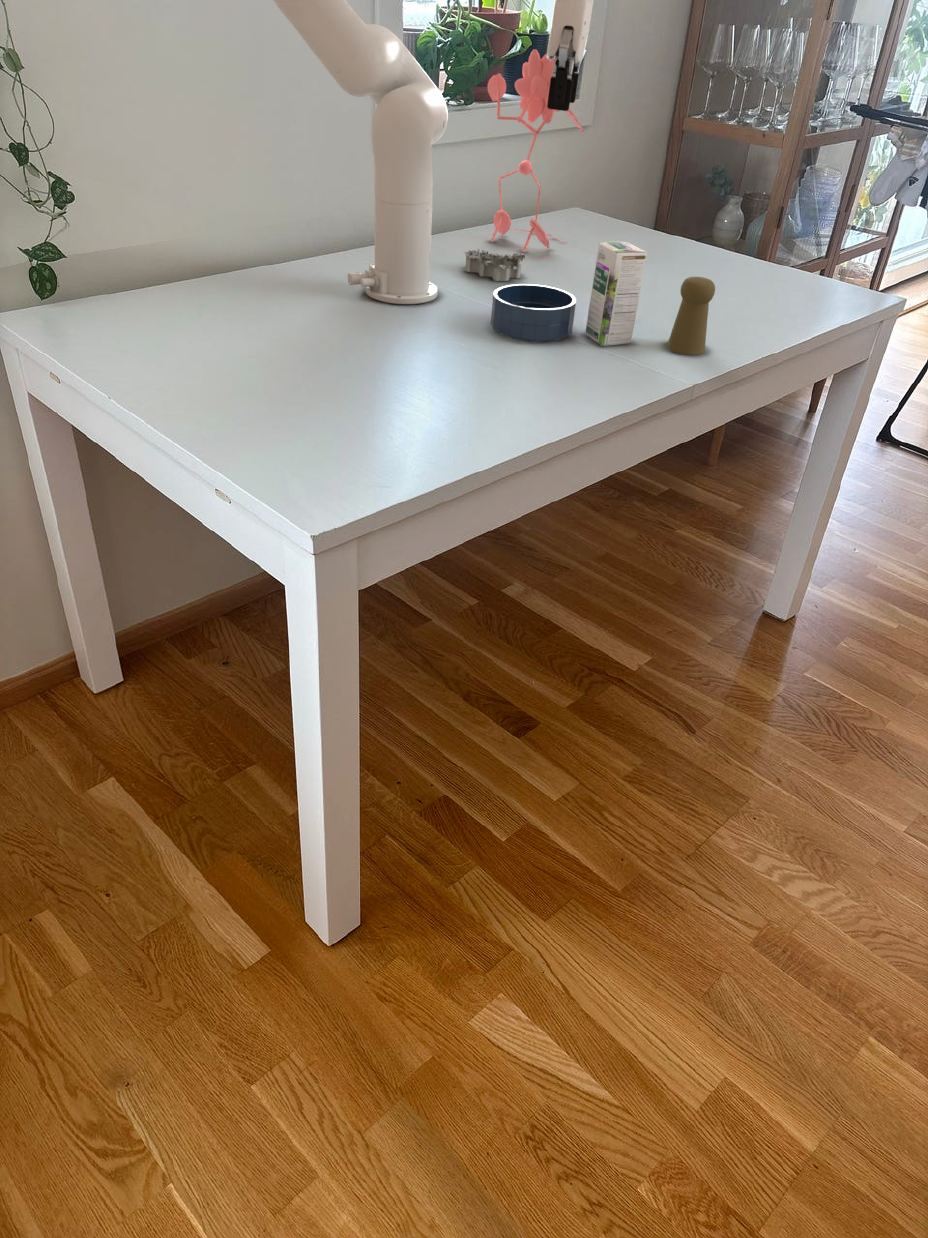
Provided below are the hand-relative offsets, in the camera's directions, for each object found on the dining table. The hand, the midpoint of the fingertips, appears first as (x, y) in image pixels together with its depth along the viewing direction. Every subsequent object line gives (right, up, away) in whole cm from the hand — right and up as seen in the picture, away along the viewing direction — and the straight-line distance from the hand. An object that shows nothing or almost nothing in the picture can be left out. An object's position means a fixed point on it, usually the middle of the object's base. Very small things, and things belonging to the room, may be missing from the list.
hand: (561, 105), depth 142 cm
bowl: (-4, -31, +10) cm, 33 cm away
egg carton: (-9, -13, +36) cm, 39 cm away
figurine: (-1, +1, +56) cm, 56 cm away
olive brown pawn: (+21, -35, +8) cm, 41 cm away
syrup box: (+9, -33, +9) cm, 35 cm away
